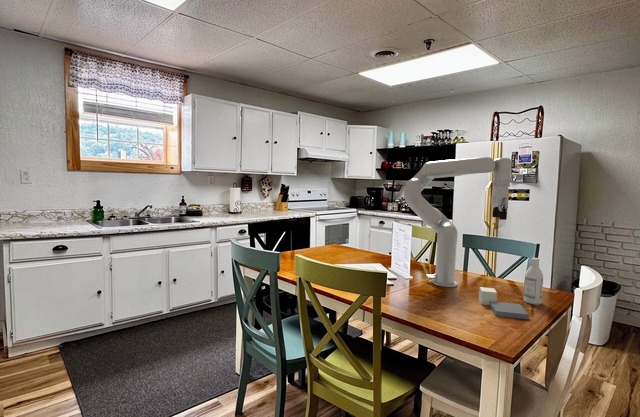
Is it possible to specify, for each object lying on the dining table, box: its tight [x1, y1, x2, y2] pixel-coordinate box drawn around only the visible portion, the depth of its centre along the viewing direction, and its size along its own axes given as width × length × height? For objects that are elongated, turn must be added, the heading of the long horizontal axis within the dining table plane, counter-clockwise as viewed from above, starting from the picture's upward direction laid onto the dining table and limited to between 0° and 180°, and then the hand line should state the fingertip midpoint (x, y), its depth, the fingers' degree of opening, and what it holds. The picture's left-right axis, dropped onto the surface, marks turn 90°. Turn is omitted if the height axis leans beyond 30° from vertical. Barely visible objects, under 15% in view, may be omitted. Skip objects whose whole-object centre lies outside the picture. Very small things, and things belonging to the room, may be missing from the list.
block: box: [478, 286, 498, 306], centre depth 158 cm, size 6×6×6 cm
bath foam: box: [523, 257, 544, 305], centre depth 160 cm, size 7×7×20 cm
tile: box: [488, 301, 530, 320], centre depth 147 cm, size 12×12×2 cm
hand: (499, 218), depth 176 cm, fingers open, 9 cm apart
